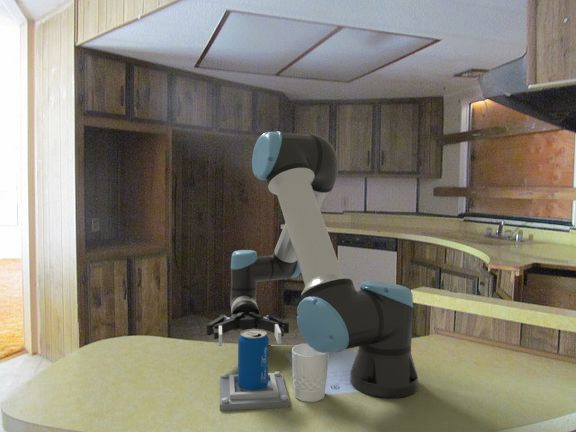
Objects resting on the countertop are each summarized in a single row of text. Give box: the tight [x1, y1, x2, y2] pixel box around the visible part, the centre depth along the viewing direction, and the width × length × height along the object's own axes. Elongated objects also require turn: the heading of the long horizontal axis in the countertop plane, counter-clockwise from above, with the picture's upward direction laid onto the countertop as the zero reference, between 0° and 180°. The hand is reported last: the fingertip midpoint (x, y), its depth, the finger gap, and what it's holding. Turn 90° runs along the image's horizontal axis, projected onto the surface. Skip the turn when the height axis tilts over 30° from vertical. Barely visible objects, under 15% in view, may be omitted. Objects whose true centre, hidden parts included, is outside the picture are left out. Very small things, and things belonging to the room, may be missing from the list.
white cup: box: [291, 342, 330, 403], centre depth 101 cm, size 8×8×10 cm
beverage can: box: [237, 328, 270, 392], centre depth 101 cm, size 6×6×12 cm
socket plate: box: [219, 371, 290, 411], centre depth 102 cm, size 14×14×2 cm
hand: (250, 339), depth 108 cm, fingers open, 13 cm apart
